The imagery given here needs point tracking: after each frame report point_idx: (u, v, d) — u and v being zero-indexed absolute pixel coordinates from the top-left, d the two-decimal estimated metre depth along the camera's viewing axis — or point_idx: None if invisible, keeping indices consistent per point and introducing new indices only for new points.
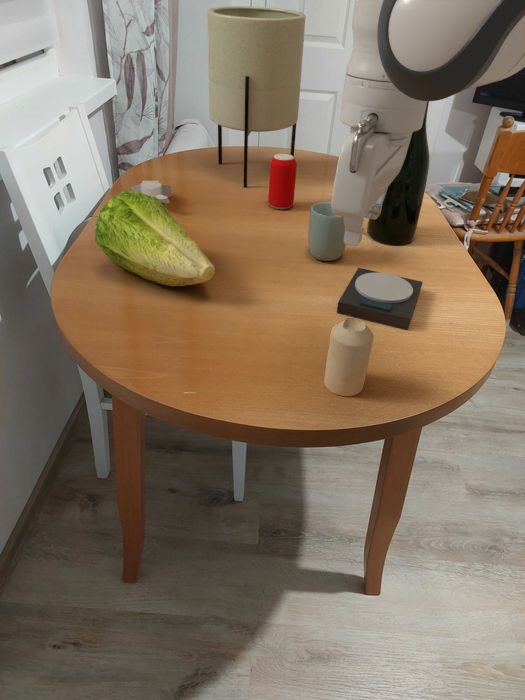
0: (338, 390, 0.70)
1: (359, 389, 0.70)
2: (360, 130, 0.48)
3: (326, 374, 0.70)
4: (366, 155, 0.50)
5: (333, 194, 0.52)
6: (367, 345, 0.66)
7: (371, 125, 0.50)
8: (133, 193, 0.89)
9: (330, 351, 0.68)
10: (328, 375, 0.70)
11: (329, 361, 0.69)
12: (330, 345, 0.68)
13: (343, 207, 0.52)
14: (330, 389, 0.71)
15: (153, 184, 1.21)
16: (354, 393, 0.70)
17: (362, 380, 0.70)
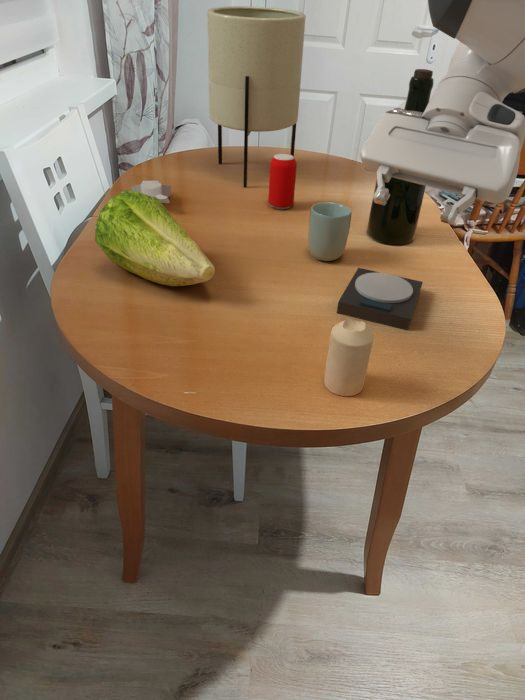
0: (338, 390, 0.70)
1: (359, 389, 0.70)
2: None
3: (326, 374, 0.70)
4: None
5: None
6: (367, 345, 0.66)
7: (407, 112, 0.71)
8: (133, 193, 0.90)
9: (330, 351, 0.68)
10: (328, 375, 0.70)
11: (329, 361, 0.69)
12: (330, 345, 0.68)
13: None
14: (330, 389, 0.71)
15: (153, 184, 1.21)
16: (354, 393, 0.70)
17: (362, 380, 0.70)
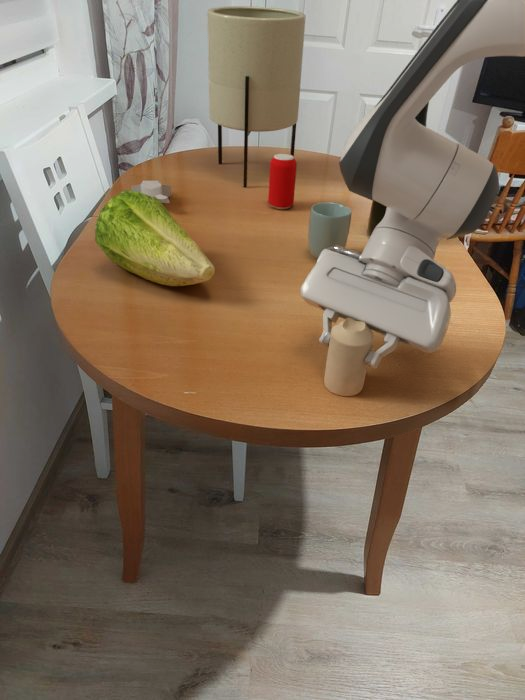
0: (338, 390, 0.70)
1: (359, 389, 0.70)
2: (330, 247, 0.74)
3: (326, 374, 0.70)
4: None
5: None
6: (367, 345, 0.66)
7: (346, 251, 0.72)
8: (133, 193, 0.90)
9: (330, 351, 0.68)
10: (327, 375, 0.70)
11: (329, 361, 0.69)
12: (330, 345, 0.68)
13: None
14: (330, 389, 0.71)
15: (153, 184, 1.21)
16: (354, 393, 0.70)
17: (362, 380, 0.70)
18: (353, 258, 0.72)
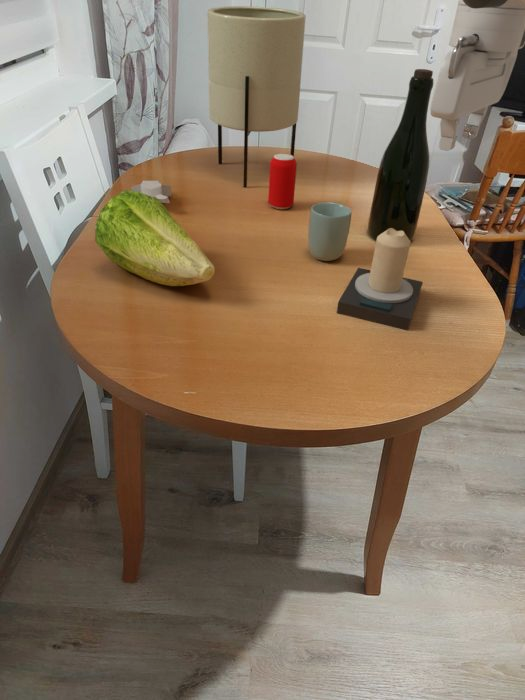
0: (381, 287, 0.88)
1: (397, 287, 0.88)
2: (460, 42, 0.62)
3: (371, 276, 0.89)
4: (463, 64, 0.63)
5: (433, 97, 0.66)
6: (406, 247, 0.84)
7: (471, 41, 0.64)
8: (133, 193, 0.90)
9: (375, 255, 0.86)
10: (372, 276, 0.88)
11: (374, 264, 0.87)
12: (376, 250, 0.86)
13: (439, 108, 0.66)
14: (374, 288, 0.89)
15: (153, 184, 1.21)
16: (394, 290, 0.88)
17: (400, 279, 0.88)
18: (472, 46, 0.65)
